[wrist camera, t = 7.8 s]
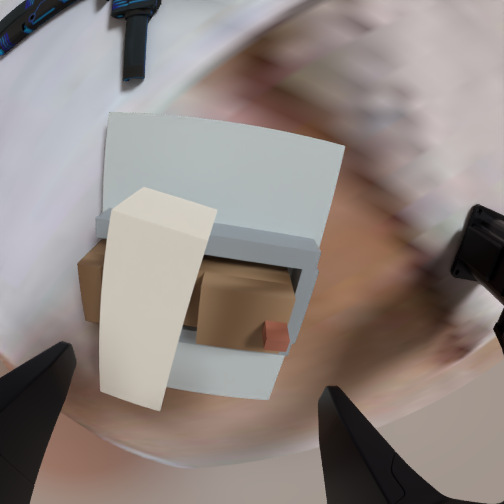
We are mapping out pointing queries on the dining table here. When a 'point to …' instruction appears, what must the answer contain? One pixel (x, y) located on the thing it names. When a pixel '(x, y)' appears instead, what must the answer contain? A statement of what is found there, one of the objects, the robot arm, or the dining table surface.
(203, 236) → the long cream prism
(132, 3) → the gun
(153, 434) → the dining table surface
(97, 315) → the brown box with tab
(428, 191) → the dining table surface
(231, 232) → the jig board
